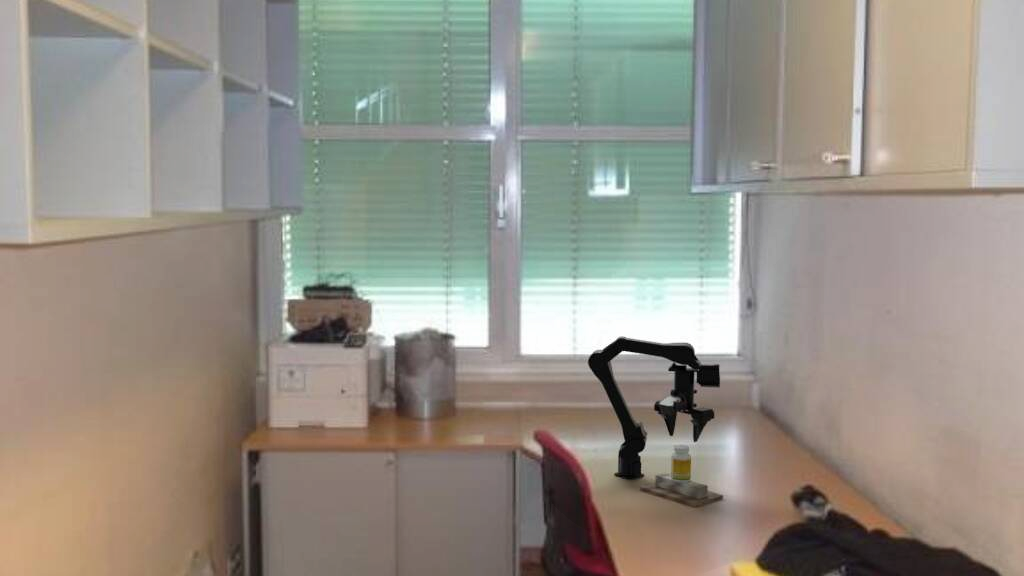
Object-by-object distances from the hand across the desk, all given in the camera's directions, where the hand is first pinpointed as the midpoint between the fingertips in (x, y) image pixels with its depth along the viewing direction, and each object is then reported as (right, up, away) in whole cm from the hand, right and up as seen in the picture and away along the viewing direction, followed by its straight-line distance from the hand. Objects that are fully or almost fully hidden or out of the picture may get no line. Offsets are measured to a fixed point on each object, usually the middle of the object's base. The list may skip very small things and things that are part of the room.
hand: (683, 438), depth 293 cm
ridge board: (-3, -13, -14) cm, 20 cm away
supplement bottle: (-3, -10, -14) cm, 18 cm away
